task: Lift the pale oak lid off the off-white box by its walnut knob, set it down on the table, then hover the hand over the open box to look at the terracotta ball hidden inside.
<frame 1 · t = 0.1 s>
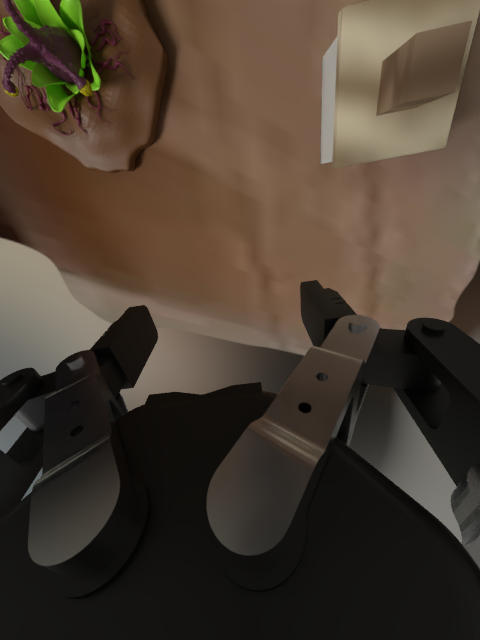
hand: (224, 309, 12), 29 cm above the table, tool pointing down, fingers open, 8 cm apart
off-white box: (362, 107, 30), on the table
oak lid: (394, 88, 24), point 7 cm above the table, touching off-white box
plant: (85, 69, 28), on the table
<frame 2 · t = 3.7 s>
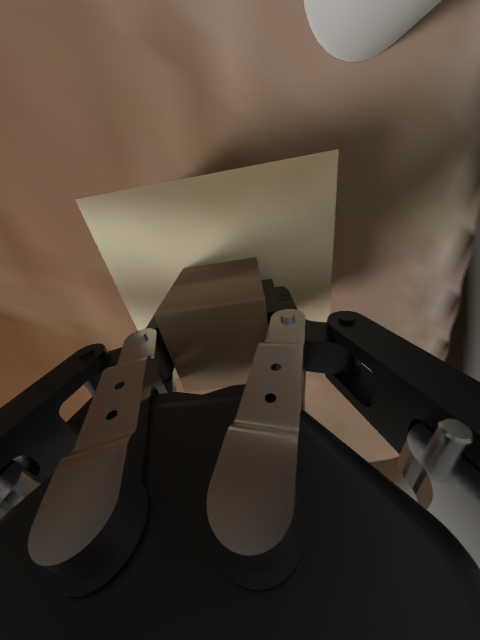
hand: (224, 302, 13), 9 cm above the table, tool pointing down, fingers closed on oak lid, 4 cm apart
oak lid: (226, 289, 14), point 7 cm above the table, touching gripper, off-white box
when the fingers open (3 cm above the table, at t = 9.4 s): oak lid drops 2 cm, on the table.
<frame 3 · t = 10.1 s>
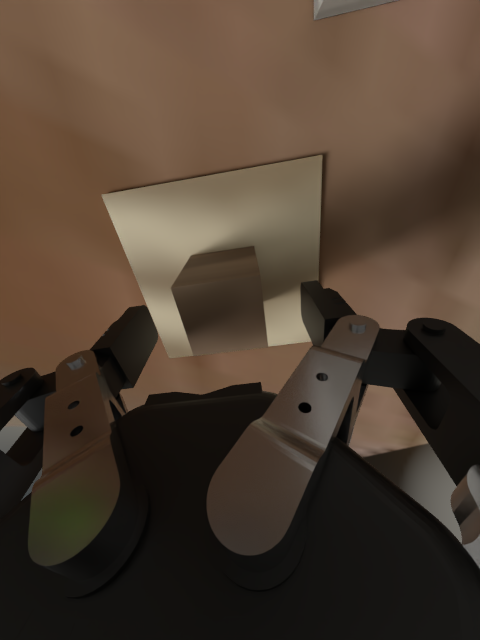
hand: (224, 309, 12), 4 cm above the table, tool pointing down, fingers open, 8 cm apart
oak lid: (228, 275, 16), on the table
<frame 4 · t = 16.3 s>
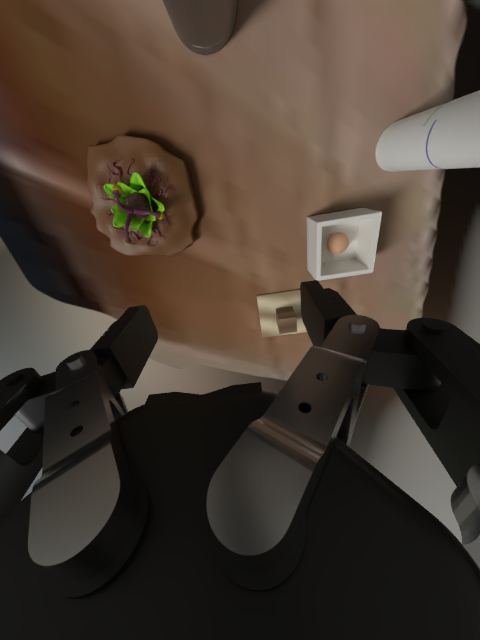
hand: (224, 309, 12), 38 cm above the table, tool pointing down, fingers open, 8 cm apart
off-white box: (333, 240, 47), on the table
terracotta ball: (337, 243, 45), point 3 cm above the table, touching off-white box
cylindrical container: (396, 146, 39), on the table
oak lid: (283, 312, 57), on the table
plant: (146, 202, 44), on the table
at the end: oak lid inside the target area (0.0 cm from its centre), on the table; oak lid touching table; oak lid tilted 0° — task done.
